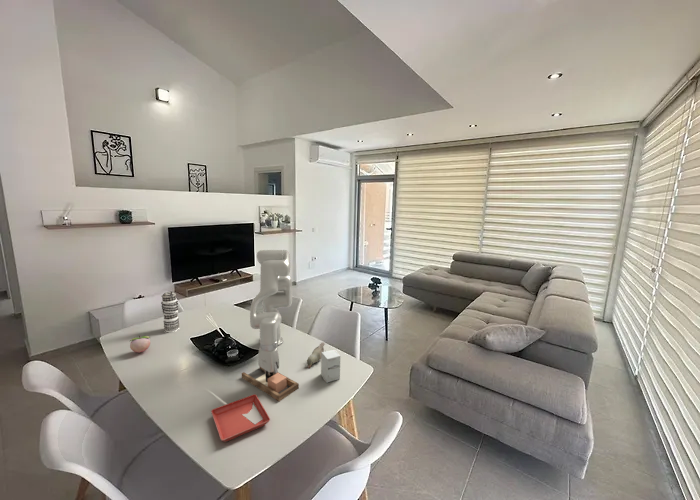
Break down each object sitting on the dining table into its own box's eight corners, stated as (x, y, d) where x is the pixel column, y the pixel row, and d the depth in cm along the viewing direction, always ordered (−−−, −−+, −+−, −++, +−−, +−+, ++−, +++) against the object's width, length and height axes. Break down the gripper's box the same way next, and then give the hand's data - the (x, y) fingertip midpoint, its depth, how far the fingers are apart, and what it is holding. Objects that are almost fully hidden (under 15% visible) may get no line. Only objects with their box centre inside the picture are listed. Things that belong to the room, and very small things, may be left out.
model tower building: (174, 333, 187) (171, 295, 183) (160, 332, 188) (156, 295, 183) (183, 327, 196) (180, 290, 192) (169, 326, 197) (166, 290, 192)
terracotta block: (267, 388, 136) (267, 378, 135) (278, 382, 140) (277, 372, 139) (276, 393, 132) (276, 383, 131) (286, 387, 137) (286, 377, 136)
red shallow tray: (271, 426, 115) (271, 419, 114) (221, 448, 104) (221, 440, 104) (255, 400, 129) (255, 393, 128) (211, 417, 119) (210, 409, 118)
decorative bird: (304, 367, 154) (303, 354, 153) (319, 353, 169) (319, 341, 167) (312, 370, 152) (313, 356, 151) (327, 355, 166) (327, 343, 165)
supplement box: (326, 383, 141) (326, 359, 139) (320, 375, 148) (320, 351, 146) (340, 379, 145) (340, 355, 142) (334, 371, 151) (334, 348, 149)
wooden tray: (241, 378, 143) (241, 373, 143) (261, 368, 152) (261, 362, 152) (279, 402, 127) (279, 396, 127) (298, 389, 136) (298, 383, 136)
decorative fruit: (131, 358, 158) (129, 341, 156) (130, 352, 164) (128, 335, 162) (152, 353, 164) (151, 336, 162) (150, 347, 170) (148, 330, 168)
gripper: (251, 343, 137) (253, 378, 141) (272, 353, 129) (273, 391, 132) (265, 337, 143) (266, 371, 147) (286, 347, 135) (286, 383, 138)
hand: (269, 381), depth 139 cm, fingers closed
